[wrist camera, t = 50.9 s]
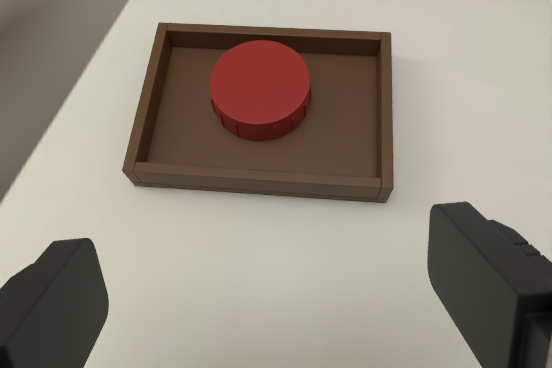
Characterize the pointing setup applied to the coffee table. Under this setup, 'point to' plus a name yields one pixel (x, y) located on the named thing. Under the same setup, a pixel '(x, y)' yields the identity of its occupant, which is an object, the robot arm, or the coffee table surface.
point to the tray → (276, 152)
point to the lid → (260, 90)
